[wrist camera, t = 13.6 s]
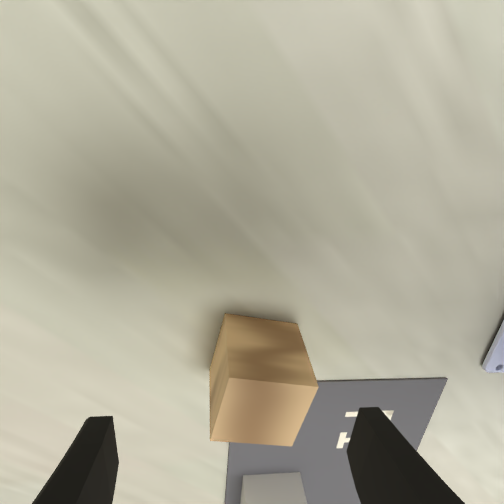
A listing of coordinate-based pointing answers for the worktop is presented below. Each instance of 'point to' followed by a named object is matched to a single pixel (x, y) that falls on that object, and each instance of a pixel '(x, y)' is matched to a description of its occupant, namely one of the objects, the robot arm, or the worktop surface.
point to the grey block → (273, 489)
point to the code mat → (335, 436)
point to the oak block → (259, 382)
